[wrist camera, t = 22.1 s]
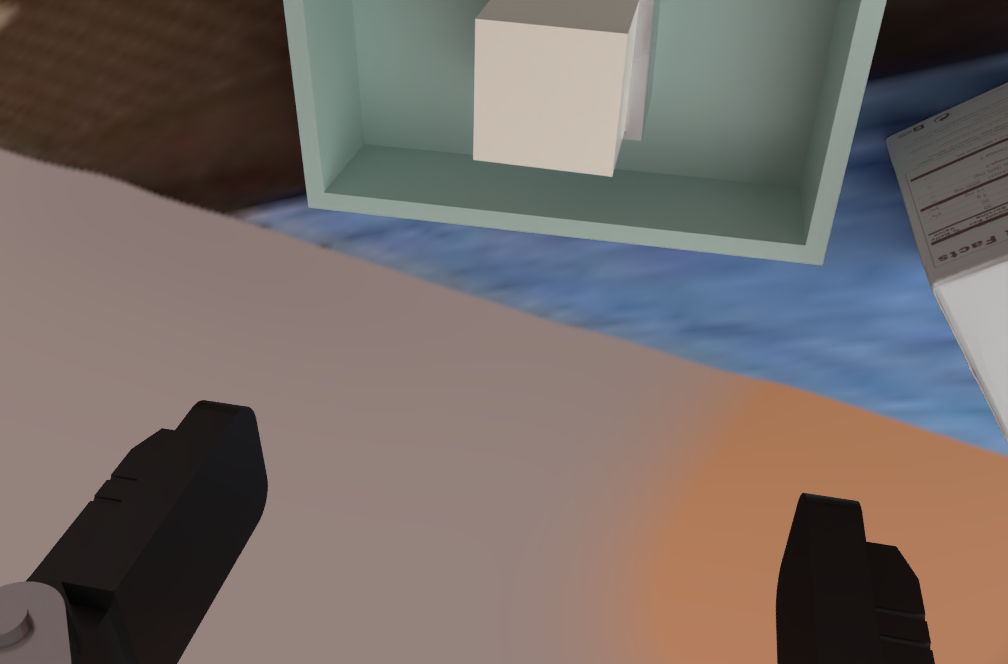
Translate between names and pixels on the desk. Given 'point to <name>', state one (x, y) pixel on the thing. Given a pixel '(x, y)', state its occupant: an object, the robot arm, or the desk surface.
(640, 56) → the tin block
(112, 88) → the desk surface
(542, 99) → the cream box
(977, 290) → the supplement box
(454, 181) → the tote
